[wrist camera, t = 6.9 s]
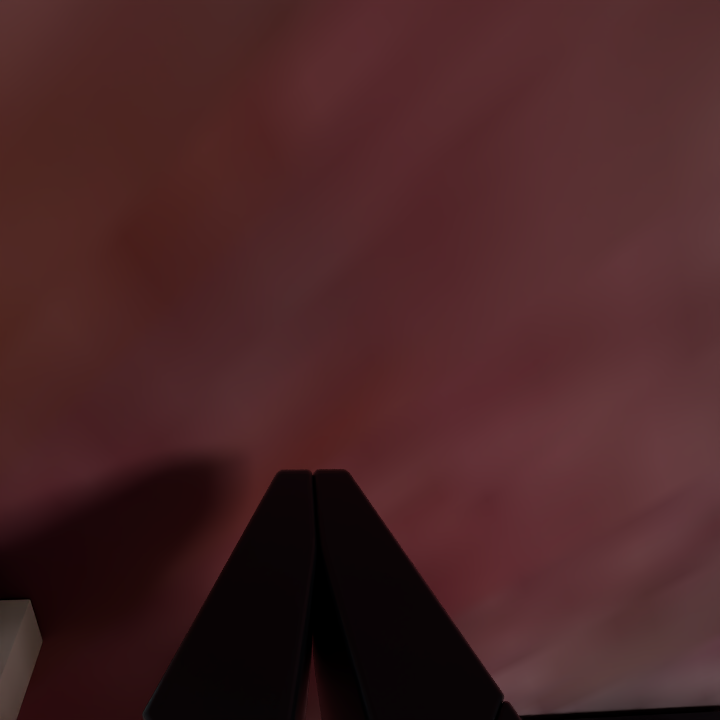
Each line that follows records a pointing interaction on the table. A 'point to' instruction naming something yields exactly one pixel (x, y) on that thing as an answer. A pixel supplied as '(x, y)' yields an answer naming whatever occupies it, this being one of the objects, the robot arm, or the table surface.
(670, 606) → the table surface
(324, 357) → the table surface
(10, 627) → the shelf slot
